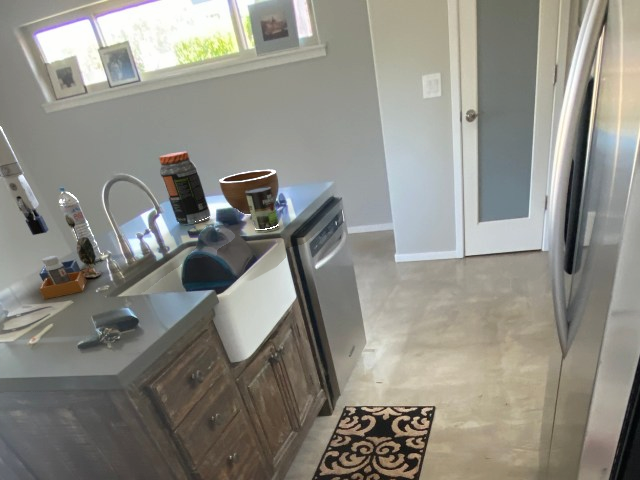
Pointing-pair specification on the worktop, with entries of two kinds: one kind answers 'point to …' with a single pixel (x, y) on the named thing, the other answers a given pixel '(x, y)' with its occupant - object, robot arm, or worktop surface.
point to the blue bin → (68, 265)
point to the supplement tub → (184, 188)
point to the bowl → (247, 187)
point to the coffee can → (262, 209)
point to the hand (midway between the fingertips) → (40, 231)
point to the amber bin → (63, 286)
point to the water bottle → (77, 219)
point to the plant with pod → (85, 252)
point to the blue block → (40, 224)
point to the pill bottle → (56, 270)
